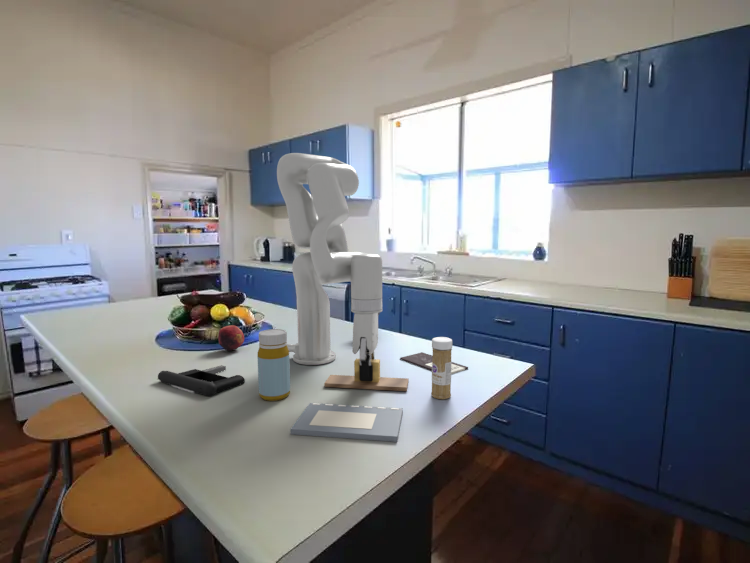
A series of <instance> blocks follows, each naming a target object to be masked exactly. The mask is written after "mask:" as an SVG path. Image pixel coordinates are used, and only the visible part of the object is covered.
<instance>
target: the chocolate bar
mask: <svg viewBox="0 0 750 563" xmlns="http://www.w3.org/2000/svg"><path fill="white" fill-rule="evenodd" d="M432 356H433V354H432V355H431V354H429V353H425V352H418V353H414V354H409V355H406V356H401V357H399V360H400V361H403V362H406V363H409V364H410V365H411V364H412V365H415V366H418V367H419V366H420V368H422V369H426V370H428V371H431V372H432V360H433V359H432V358H433V357H432ZM467 370H469V366H466V365H463V364H460V363H457V362H454V361H451V375H454V374H457V373H460V372H463V371H467Z"/></svg>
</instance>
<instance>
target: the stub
mask: <svg viewBox="0 0 750 563" xmlns="http://www.w3.org/2000/svg"><path fill="white" fill-rule="evenodd" d="M353 363H354V364H353V367H354V370H353V374H354V375H345V374H343V375H342V374H341V375H340V374H330V375H329V376H328V378H327V379H326V380H325V382H324V383H323V385H324V386H323V387H324V388H340V389H342V388H343V389H359V390H360V389H361V390H377V391H397V392H399V391H400V392H407V391H408V388H409V387H408V386H409V382H410V381H409V378H406V377H405V378H404V377H402V378H401V377H387V376H385V377H381V359H378V358H376V359H375V358H374V359H372V362H371V365H373V380H372V381H371V382H370V381H360V380H359V365H360V358H355V359H354V361H353Z"/></svg>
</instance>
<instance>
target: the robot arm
mask: <svg viewBox="0 0 750 563" xmlns="http://www.w3.org/2000/svg"><path fill="white" fill-rule="evenodd" d="M356 171H357V170H355V168H354V167H353V166H351V165H350V164H348V163H345V162H343V161H341V160H339V159H337V158H335V157H332V156H331V157H330V156H324V155H317V154H309V153H303V152H302V153H301V152H291V153H286V154H284V155H281V157H280V158H279V160H278V162H277V167H276V179H277V184H278V187H279V188H278V189H279V191H280V193H281V195H282V198H283V200H284V202H285V206H286V211H287V212H286V213H287V216H288V217H287V218H288V223H289V228H290V229H289V230H290V232H291V237H292V241H293V244H294V245H295V246H296V248H298V249H302V250H310V251H309V252H303V253H301V254H299V255H297V256H296V257H295V258H294V259H293V261H292V265H291V266H292V268H291V269H292V270H291V271H292V275H293V280H294V286H295V293H296V294H295V295H296V318H297V321H296V322H297V342H296V343H294V344H292V343H287V347H288V350H289V353H294V354H293V355H292V360H293V362H295V363H296V364H298V365H299V364H300V365H306V366H316V365H317V366H318V365H319V366H320V365H323V364H324V365H325V364H328V363H331V362H333V361H334V360H336V358H337V357H336V356H337V355H336V352H335V351H332V350H331V309H330V308H331V306H330V298H329V295H328V293H327V292H326V291H325V289H324V287H323V285H331V284H339V283H345V282H346V283H347V282H350V300H351V302H350V303H351V305H350V307H351V308H350V310H351V313H354V316H353V327H352V353H353V354H354V355H356V354H357V353H358V351H359V359H360V365H359V380H360V381H370V382H371V381H372V380H373V365H371V362H372V359H375V350H376V348H377V347H378V344H379V316H378V313H380V314H381V313H382V312H383V259H382V256H380V255H379V254H377V253H366V252H361V251H349V247H348V242H347V237H346V232H345V229H344V226H343V223H345V222H346V221H347V220H348V218H349V217H350V213H351V212H350V209H349V206H348V203H347V198H346V197H350V196H353V195H355V194H356V192H357V191H358V189H359V184H360V181H359V176H358V172H356ZM304 185H307V186H308V188H309V191H310V192H309V191H308V189H306V187H305V186H304Z"/></svg>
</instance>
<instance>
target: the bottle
mask: <svg viewBox="0 0 750 563" xmlns="http://www.w3.org/2000/svg"><path fill="white" fill-rule="evenodd" d="M287 332H288V331H287V330H286V329H281V328H271V329H265V330H261V331H259V332H258V342H259V343H258V346H259V348H258V351H257V376H258V381H257V382H258V396H259V397H260V398H261V399H262V400H264V401H267V402H268V401H269V402H274V401H275V402H276V401H281V400H284V399H285V398H287V397H288V396H289V395H290V394H291V373H290V372H291V371H290V370H291V369H290V368H291V367H290V366H291V365H290V352H289V350H288V347H287V344H288V342H287V341H288V333H287Z"/></svg>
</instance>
